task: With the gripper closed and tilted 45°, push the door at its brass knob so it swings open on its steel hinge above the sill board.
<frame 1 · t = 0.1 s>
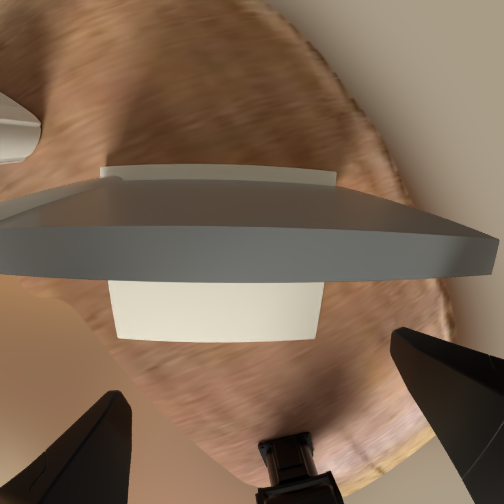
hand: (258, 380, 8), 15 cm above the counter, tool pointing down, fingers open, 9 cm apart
door: (221, 217, 13), point 8 cm above the counter, hinge at 0.0°
sill board: (215, 258, 22), on the counter
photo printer: (7, 121, 16), on the counter
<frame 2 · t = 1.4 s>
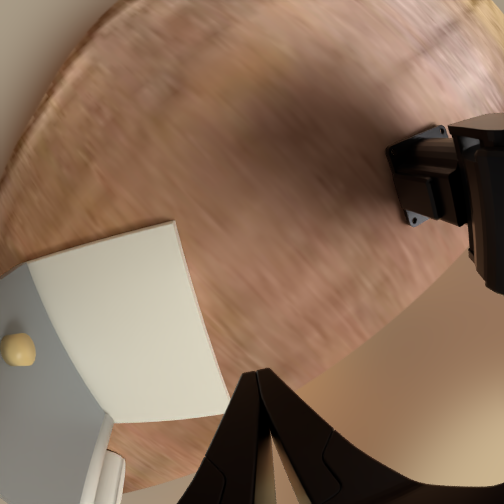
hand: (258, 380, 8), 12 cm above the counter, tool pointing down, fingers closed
door: (37, 417, 12), point 8 cm above the counter, hinge at 0.0°
sill board: (123, 344, 21), on the counter
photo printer: (110, 465, 27), on the counter
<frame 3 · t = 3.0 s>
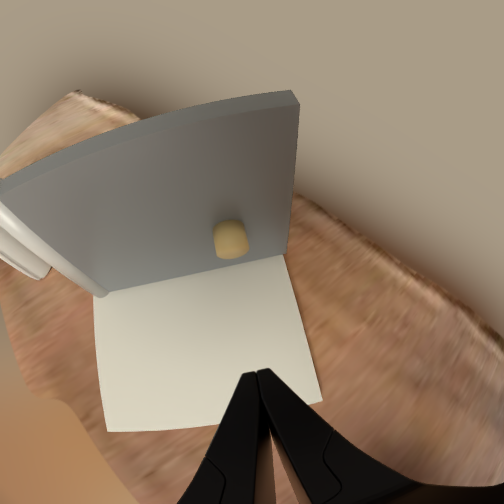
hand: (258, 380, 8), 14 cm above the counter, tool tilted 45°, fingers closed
door: (151, 232, 17), point 9 cm above the counter, hinge at 0.0°
sill board: (192, 338, 22), on the counter
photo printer: (29, 256, 27), on the counter
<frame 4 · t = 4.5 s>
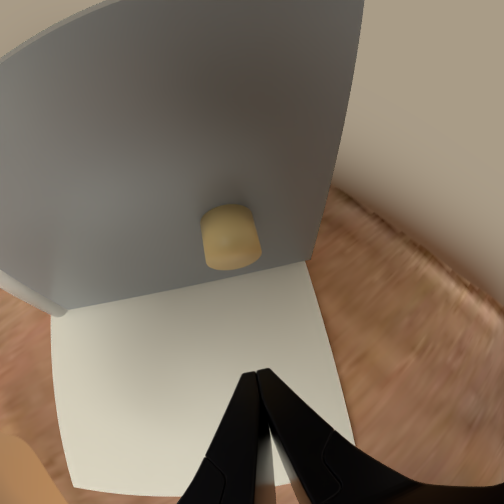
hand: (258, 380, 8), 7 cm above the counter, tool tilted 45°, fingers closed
door: (100, 227, 10), point 9 cm above the counter, hinge at 0.0°
sill board: (177, 378, 15), on the counter
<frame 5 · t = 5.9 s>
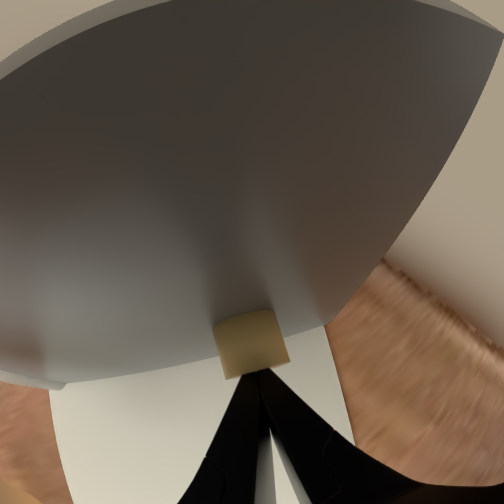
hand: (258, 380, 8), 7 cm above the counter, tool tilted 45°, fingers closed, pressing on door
door: (91, 344, 7), point 9 cm above the counter, hinge at 3.2°, touching gripper
sill board: (190, 457, 12), on the counter
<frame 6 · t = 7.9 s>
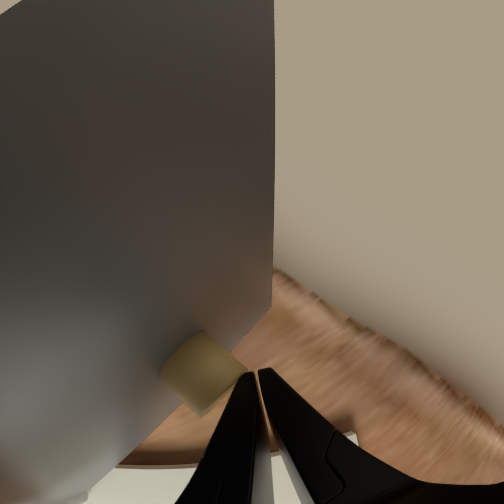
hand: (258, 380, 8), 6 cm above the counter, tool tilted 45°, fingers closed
door: (70, 451, 5), point 9 cm above the counter, hinge at 36.6°, touching gripper
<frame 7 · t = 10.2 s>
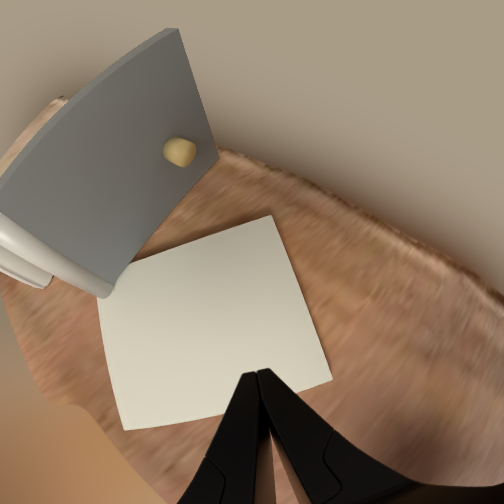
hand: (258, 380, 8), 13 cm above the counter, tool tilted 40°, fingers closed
door: (123, 179, 18), point 8 cm above the counter, hinge at 36.6°
sill board: (198, 328, 22), on the counter
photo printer: (31, 266, 27), on the counter
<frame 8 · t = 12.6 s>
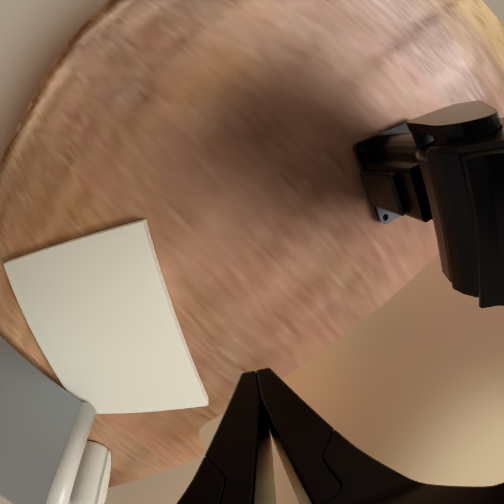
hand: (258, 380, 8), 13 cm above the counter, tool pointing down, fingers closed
sill board: (103, 336, 22), on the counter
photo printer: (97, 457, 27), on the counter
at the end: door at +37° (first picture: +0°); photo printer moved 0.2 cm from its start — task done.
